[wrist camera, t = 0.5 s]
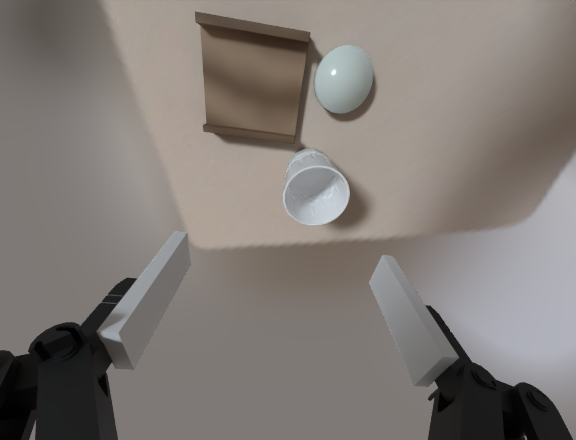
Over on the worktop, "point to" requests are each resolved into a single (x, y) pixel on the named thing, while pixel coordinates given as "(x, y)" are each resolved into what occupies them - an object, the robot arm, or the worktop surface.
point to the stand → (252, 77)
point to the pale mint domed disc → (343, 79)
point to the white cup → (314, 188)
